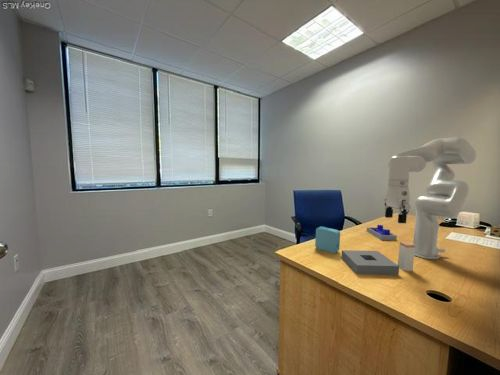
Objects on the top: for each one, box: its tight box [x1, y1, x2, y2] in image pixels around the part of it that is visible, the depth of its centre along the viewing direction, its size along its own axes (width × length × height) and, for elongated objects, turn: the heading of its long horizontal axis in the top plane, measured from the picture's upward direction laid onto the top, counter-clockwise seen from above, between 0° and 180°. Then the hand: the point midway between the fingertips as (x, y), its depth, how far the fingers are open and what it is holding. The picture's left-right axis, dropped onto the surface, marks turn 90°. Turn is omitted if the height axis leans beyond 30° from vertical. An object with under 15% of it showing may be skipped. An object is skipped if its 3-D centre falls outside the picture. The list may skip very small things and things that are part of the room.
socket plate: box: [341, 249, 400, 276], centre depth 99 cm, size 18×16×4 cm
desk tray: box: [366, 226, 398, 241], centre depth 142 cm, size 10×18×3 cm, turn 179°
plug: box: [397, 241, 415, 272], centre depth 96 cm, size 4×4×12 cm
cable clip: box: [375, 224, 391, 235], centre depth 142 cm, size 12×4×6 cm, turn 169°
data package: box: [314, 226, 341, 254], centre depth 117 cm, size 12×4×12 cm, turn 45°
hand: (394, 220), depth 98 cm, fingers open, 9 cm apart
